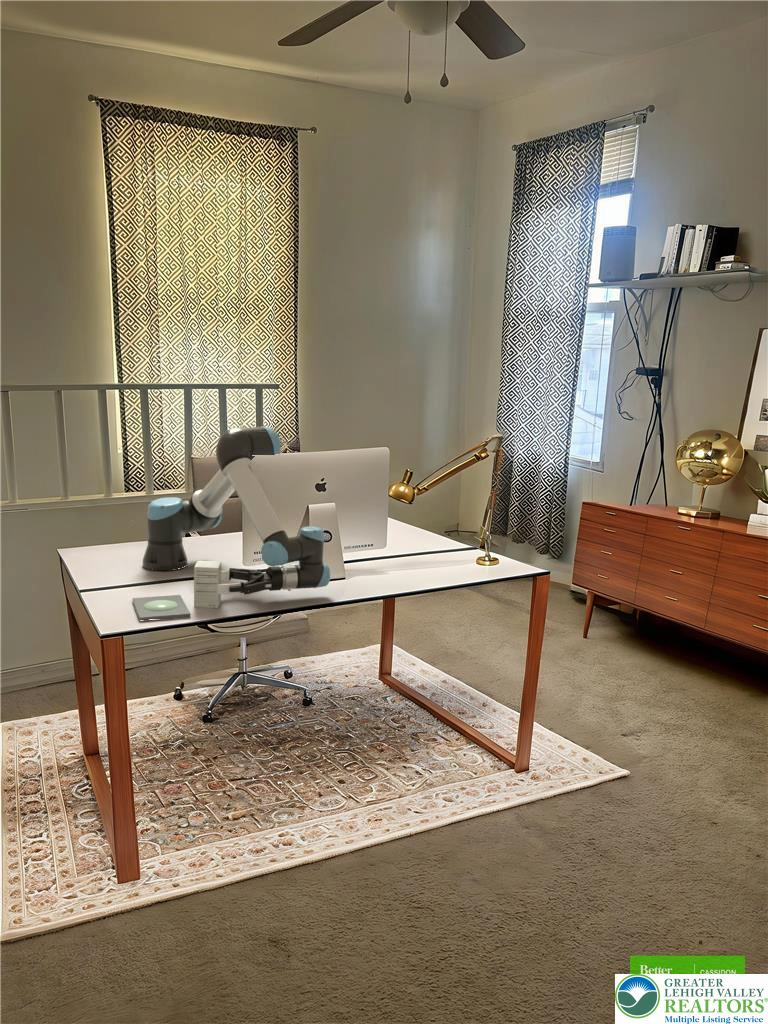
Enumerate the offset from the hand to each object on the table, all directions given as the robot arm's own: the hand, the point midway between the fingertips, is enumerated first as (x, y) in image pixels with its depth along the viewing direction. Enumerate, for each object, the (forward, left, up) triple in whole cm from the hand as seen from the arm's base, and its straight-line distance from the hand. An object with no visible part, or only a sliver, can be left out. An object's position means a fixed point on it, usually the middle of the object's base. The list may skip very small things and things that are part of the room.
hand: (212, 582), depth 239 cm
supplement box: (-1, -1, -7) cm, 7 cm away
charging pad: (+1, -15, -7) cm, 17 cm away
